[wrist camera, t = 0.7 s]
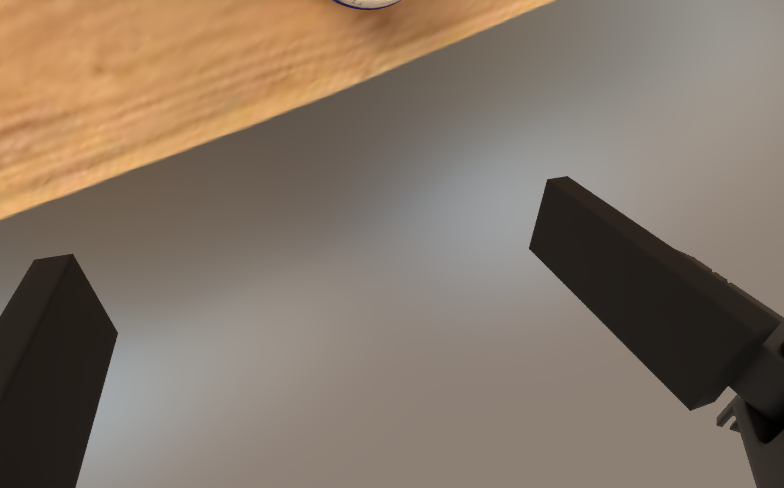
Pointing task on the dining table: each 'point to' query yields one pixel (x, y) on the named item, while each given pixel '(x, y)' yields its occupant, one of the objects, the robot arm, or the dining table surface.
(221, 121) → the dining table surface
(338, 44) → the dining table surface
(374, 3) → the teacup with lid
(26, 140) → the dining table surface
